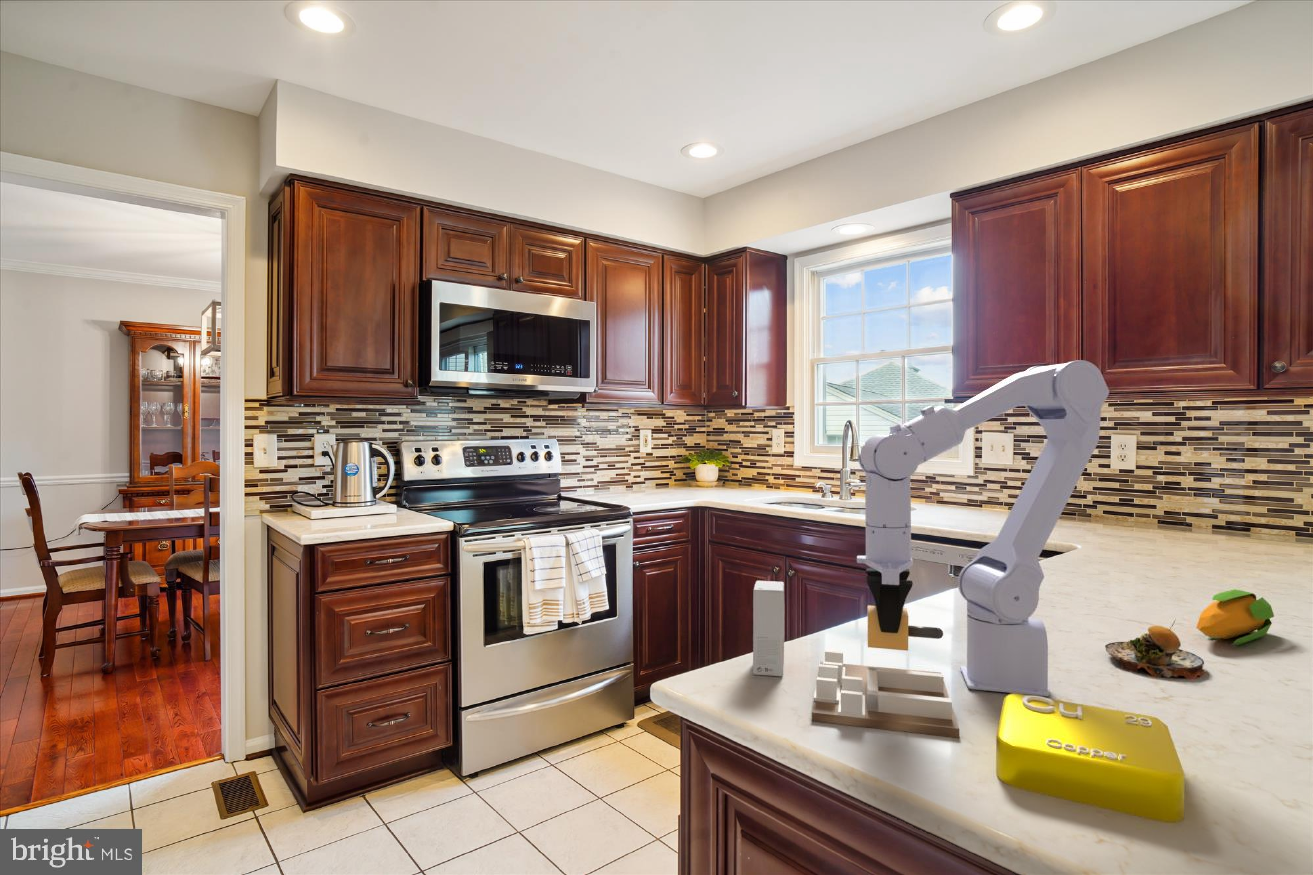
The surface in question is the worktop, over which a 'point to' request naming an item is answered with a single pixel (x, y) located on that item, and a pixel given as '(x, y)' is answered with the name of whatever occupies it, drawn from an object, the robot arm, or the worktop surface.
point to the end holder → (907, 702)
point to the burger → (1157, 654)
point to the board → (886, 720)
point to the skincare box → (768, 628)
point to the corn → (1236, 616)
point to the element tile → (1090, 756)
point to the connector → (896, 639)
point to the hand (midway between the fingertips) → (888, 626)
